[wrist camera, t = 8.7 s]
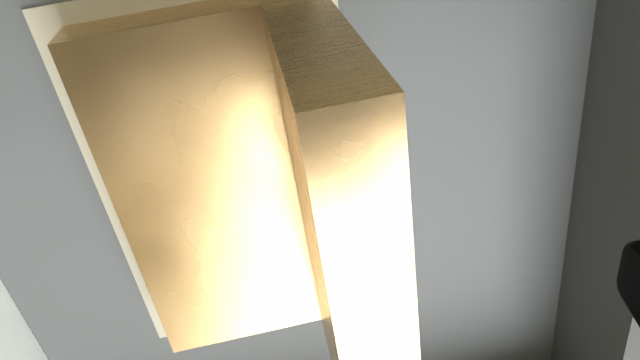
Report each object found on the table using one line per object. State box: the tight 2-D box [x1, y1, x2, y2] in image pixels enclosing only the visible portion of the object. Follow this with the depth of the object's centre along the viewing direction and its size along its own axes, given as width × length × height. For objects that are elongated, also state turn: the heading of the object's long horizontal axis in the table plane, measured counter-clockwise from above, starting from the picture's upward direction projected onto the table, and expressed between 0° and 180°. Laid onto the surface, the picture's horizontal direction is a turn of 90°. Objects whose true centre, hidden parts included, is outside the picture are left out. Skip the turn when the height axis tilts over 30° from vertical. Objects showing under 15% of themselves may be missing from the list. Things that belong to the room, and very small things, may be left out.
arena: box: [0, 0, 640, 360], centre depth 13 cm, size 16×18×4 cm
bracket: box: [47, 0, 421, 360], centre depth 10 cm, size 8×5×6 cm, turn 7°
